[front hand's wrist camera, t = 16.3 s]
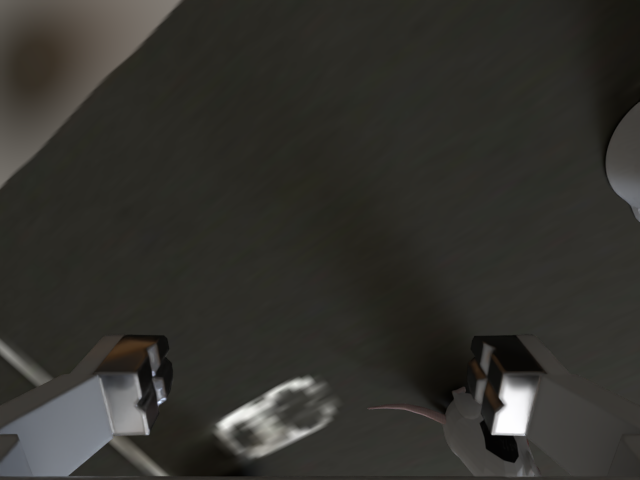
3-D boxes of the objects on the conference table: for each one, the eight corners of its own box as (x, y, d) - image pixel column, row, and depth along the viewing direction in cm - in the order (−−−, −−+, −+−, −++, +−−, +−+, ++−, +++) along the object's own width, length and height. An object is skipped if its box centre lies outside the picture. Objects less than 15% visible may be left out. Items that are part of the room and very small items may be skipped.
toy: (500, 433, 63) (552, 530, 49) (358, 412, 62) (370, 506, 48) (520, 390, 60) (581, 480, 46) (371, 367, 59) (388, 453, 45)
